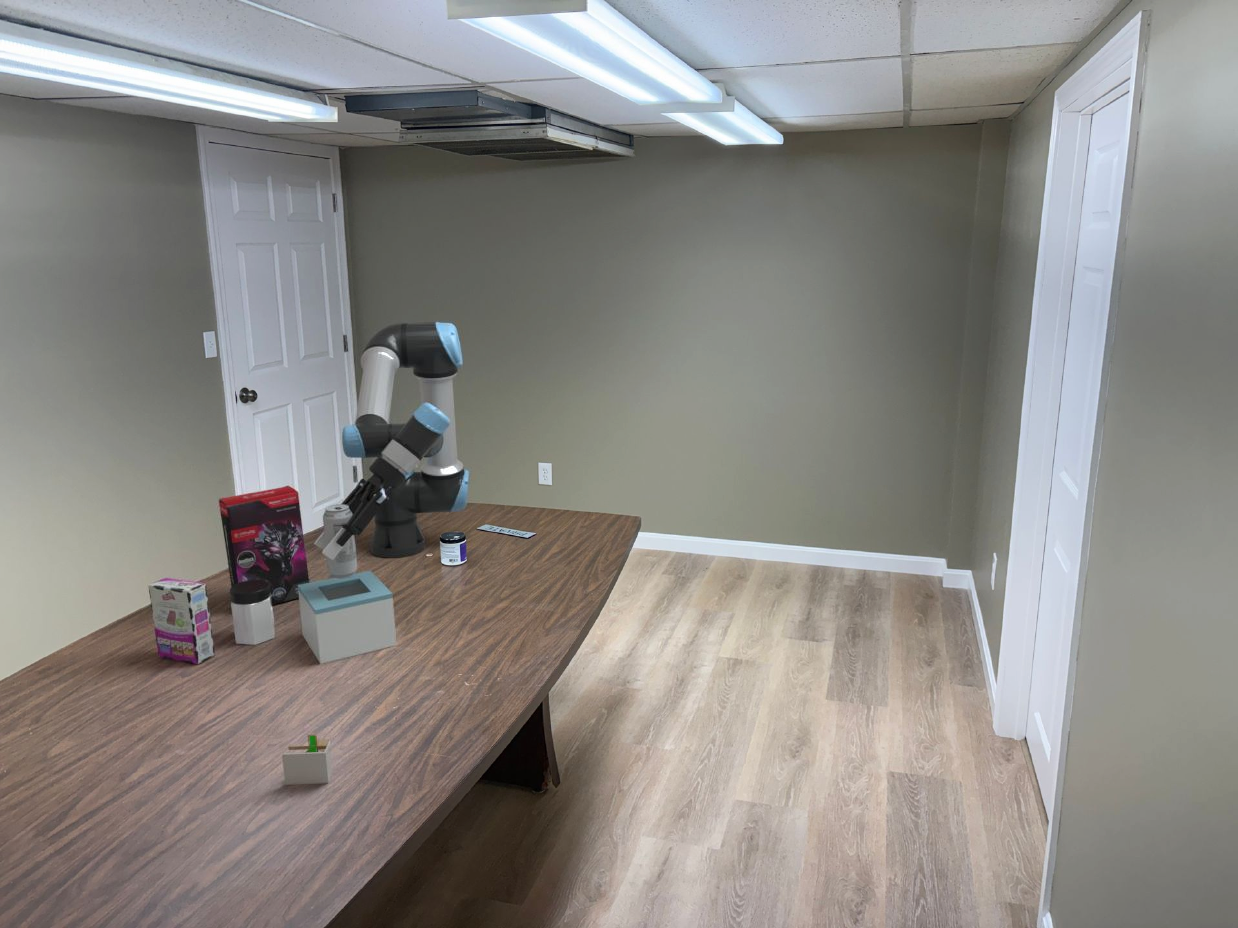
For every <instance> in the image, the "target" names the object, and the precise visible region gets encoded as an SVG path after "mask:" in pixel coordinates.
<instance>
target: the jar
mask: <svg viewBox="0 0 1238 928" xmlns="http://www.w3.org/2000/svg"><path fill="white" fill-rule="evenodd" d="M229 594H230V601H231V603H230V607H231V615H232V622H233V631H234V638H235V639H234V640H235V644H237V645H250V646H256V645H259V644H262V643H265V642H267V641H271V640H272V639H274V638H275V632H276V631H275V630H276V629H275V620H274V619H275V618H274V609H273V605H272V601H271V589H270V584H269V582H267V581H264V580H249V581H244V582H240V583H237V584H235V585H233V586H232V587H231V586H230V588H229Z"/></svg>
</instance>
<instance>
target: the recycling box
mask: <svg viewBox="0 0 1238 928" xmlns="http://www.w3.org/2000/svg"><path fill="white" fill-rule="evenodd" d="M298 593H299V598H298V602H299V603H298V604H299V611H300V612H299V613H300V620H301V629H302V632H301V633H302V637H303V638H304V640H305V641H306V642H307V644H308V646H309V648H310V649H311V651H312V652H313V655H314V656H315V657H316V658H317V660H318V662H319V664H320V665H323V664H326V663H330V662H334V661H339V660H343V659H347V658H351V657H355V656H359V655H362V654H363V655H364V654H367V653H371V652H375V651H379V650H383V649H386V648H387V649H388V648H391V647H395V646H397V637H396V625H395V609H394V598H393V597H394V596H393V592H392V591H391V590H389V588H388V587H387V586H386V585H385V584H384V583H383V582H382V581H381V580H380V579H379V578H378V577H377V576H376V574H374V573H373V571H371V570H367V571H362V572H357V573H356V572H355V574H354V575H353V576H351V577H348V578H342V579H337V578H333V577H331V578H327V579H322V580H317V581H311V582H309V583H306V584H301V585H298Z"/></svg>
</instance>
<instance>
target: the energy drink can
mask: <svg viewBox="0 0 1238 928" xmlns="http://www.w3.org/2000/svg"><path fill="white" fill-rule="evenodd" d="M324 510H325V511H324V513H323V515H322V525H323V532H324V535H325V546H327V545H328V544H329V543H330V542H331V540H332V539H333V538H334V537H335V535H336V534H337V533H338V532H339V531H340V529H341V528H342V525H347V523H348V522H349V520H350V519H351V517H352V516H353V514H352V512H351V511H350V509H349V506H348V505H345V504H342V503H341V504H340V503H339V504H331V505H328V506H325V508H324ZM355 536H356V535H353V536H352V537H351V539H350V540H349V541H348V542H347V543H346V545H345V546H344V547H343V548H342V550H341V551H340V552H339V553H338V555H337V556H336V557H335V558H334V559H333V560H332V559H330V558H329V557H327V556H326V563H327V565H326V566H327V572H328V574H329V575H330V577H331V578H337V579H342V578H348V577H351V576H353V575H354V574H356V571H357V570H358V562H357V561H358V560H357V550H356V549H357V547H356V539H355V538H356V537H355Z"/></svg>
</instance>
